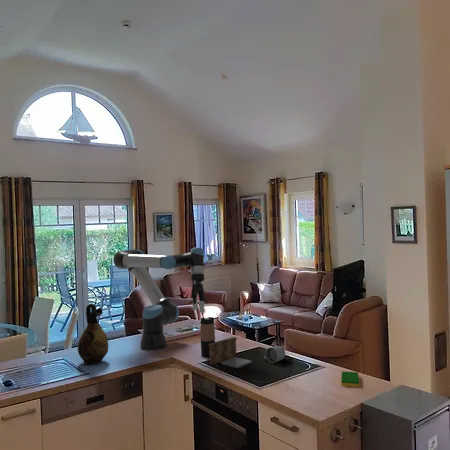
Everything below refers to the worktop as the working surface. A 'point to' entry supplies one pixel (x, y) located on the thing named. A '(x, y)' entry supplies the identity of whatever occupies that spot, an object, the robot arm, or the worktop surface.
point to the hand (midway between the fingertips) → (198, 311)
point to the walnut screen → (222, 350)
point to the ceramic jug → (93, 338)
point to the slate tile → (236, 362)
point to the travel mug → (207, 335)
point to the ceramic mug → (274, 354)
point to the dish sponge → (350, 379)
